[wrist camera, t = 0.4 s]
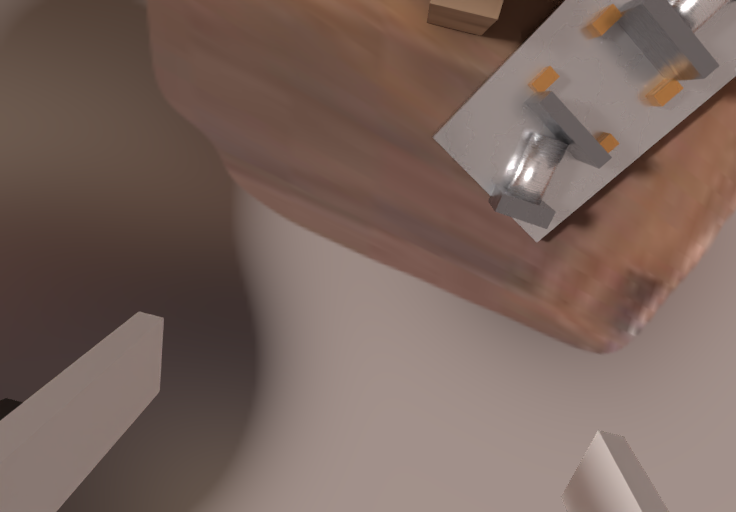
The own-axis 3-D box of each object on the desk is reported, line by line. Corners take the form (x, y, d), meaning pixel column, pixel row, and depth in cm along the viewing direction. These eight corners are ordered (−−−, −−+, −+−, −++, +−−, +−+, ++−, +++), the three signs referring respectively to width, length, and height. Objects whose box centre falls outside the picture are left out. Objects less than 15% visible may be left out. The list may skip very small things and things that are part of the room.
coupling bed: (673, -114, 27) (729, -160, 22) (781, 29, 29) (855, 16, 24) (432, 136, 34) (435, 142, 29) (533, 238, 36) (552, 260, 31)
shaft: (520, 128, 32) (531, 131, 29) (570, 145, 32) (586, 150, 29) (488, 201, 34) (495, 211, 31) (535, 217, 34) (546, 229, 31)
